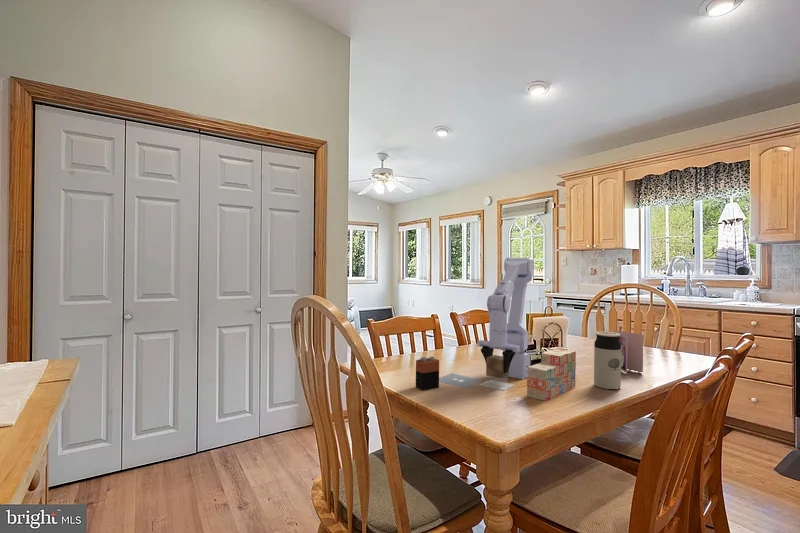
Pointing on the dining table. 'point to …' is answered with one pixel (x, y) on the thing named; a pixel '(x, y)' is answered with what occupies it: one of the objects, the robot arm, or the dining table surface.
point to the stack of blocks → (552, 374)
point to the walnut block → (495, 366)
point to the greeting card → (631, 351)
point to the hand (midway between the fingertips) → (497, 370)
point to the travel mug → (607, 360)
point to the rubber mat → (497, 385)
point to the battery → (427, 373)
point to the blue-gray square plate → (459, 380)
